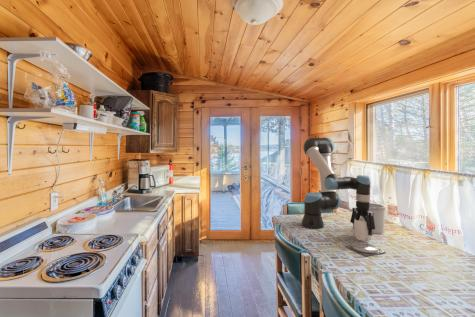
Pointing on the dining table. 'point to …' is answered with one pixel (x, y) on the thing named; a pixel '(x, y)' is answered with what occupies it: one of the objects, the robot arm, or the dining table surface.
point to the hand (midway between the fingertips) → (361, 237)
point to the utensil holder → (378, 217)
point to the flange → (365, 249)
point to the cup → (360, 229)
